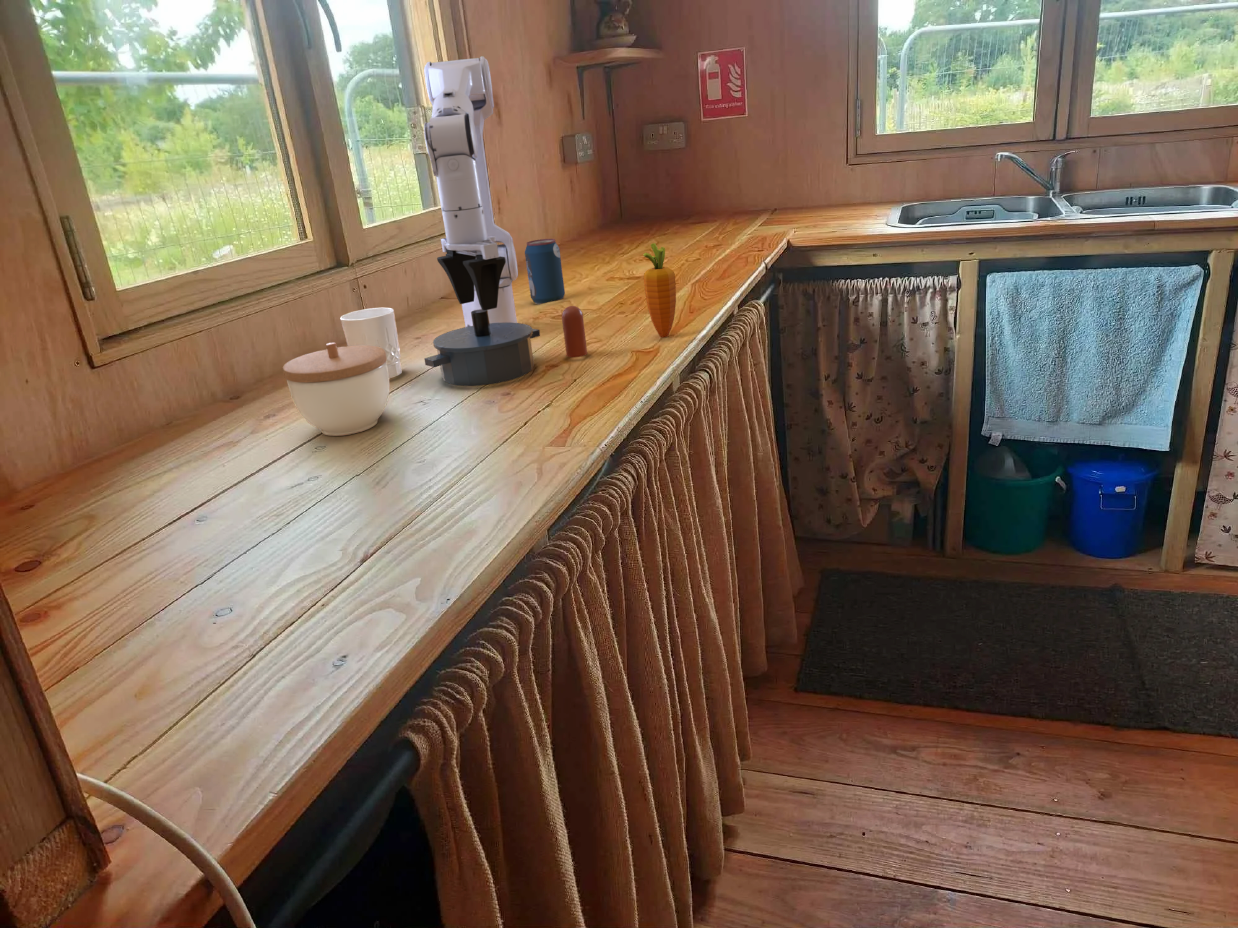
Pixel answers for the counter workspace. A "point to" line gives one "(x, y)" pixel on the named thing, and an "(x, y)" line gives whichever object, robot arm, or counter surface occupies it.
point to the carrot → (660, 292)
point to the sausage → (574, 332)
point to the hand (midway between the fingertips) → (477, 305)
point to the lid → (482, 335)
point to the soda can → (544, 271)
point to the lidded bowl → (340, 387)
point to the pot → (485, 364)
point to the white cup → (374, 333)
